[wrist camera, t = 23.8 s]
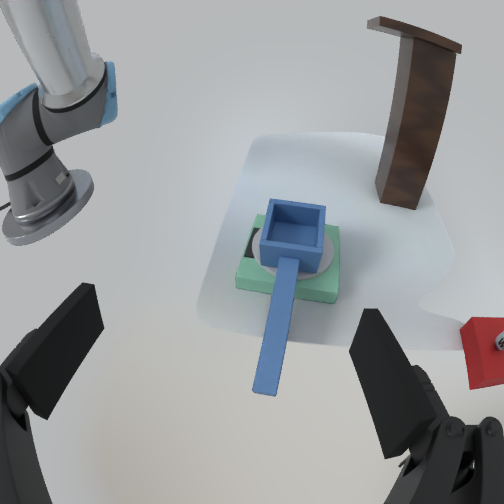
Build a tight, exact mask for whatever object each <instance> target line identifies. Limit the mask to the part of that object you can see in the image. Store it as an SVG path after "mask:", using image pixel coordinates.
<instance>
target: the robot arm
mask: <svg viewBox="0 0 504 504" xmlns="http://www.w3.org/2000/svg"><path fill="white" fill-rule="evenodd" d="M0 8H1V10H2V12H3V14H4V16H5V18H6V21H7V23H8V25H9V27H10V28H11V31H12V33H13V35H14V37H15V39H16V41H17V42H18V44H19V46H20V48H21V50H22V52H23V53H24V55H25V57H26V59H27V61H28V63H29V64H30V66H31V68H32V70H33V71H34V73H35V74H36V76H37V78H38V80H39V81H40V86H39V88H38V86H37V84H36V83H33V84H31V85H29V86H27V87H26V88H24V89H22V90H21V91H19V92H18V93H16V94H15V95H13V96H12V97H10V98H9V99H7V100H6V101H5V102H3V103H2V104H1V105H0V167H1V169H2V171H3V174H4V176H5V179H6V181H7V184H8V189H9V197H10V202H9V203H7V204H5V205H3V206H1V207H0V210H2V209H5V208H6V207H8V206H10V205H11V209H12V214H13V216H14V218H15V220H16V221H17V222H18V223H21V224H25V223H30V222H33V221H36V220H38V219H40V218H42V217H44V216H45V215H47V214H49V213H50V212H52V211H53V210H54V209H56V208H57V207H58V206H59V205H61V204H62V203H63V202H64V201H65V200H66V199H67V198H68V196H69V195H70V194H71V192H72V191H73V189H74V185H75V184H74V180H73V178H72V175H71V174H70V172H69V171H68V170H67V169H66V168H65V166H64V165H63V164H62V162H61V161H60V160H59V159H58V157H57V156H56V154H55V152H54V149H53V146H52V144H55V143H57V142H59V141H62V140H64V139H67V138H69V137H72V136H75V135H77V134H80V133H83V132H86V131H89V130H92V129H95V128H100V127H101V126H102V125H105V124H108V123H110V122H112V121H113V120H115V119H116V117H117V96H116V78H115V67H114V63H113V62H103V59H102V58H101V57H100V56H99V55H98V54H96V53H93V52H91V51H90V48H89V44H88V41H87V37H86V33H85V29H84V25H83V20H82V16H81V12H80V7H79V2H78V0H0ZM103 330H104V325H103V321H102V317H101V313H100V309H99V305H98V300H97V295H96V291H95V285H94V284H88V283H82V284H81V285H79V286H78V287H77V288H76V289H75V290H74V291H73V292H72V293H71V294H70V295H69V296H68V298H66V299H65V300H64V302H63V303H62V304H61V305H60V306H59V307H58V308H57V309H56V310H55V311H54V312H53V313H52V314H51V315H50V316H49V317H48V318H47V319H46V321H45V322H44V323H43V324H42V325H41V326H40V327H39V328H38V329H34V330H33V331H31V332H29V333H28V334H27V335H26V336H25V337H24V338H23V339H22V340H21V342H20V343H19V344H18V345H17V346H16V348H15V349H14V350H13V351H12V352H11V353H10V354H9V356H8V357H7V358H6V359H5V361H4V362H3V363H2V364H1V366H0V504H52V501H51V498H50V496H49V493H48V490H47V487H46V484H45V481H44V478H43V475H42V472H41V469H40V466H39V461H38V458H37V454H36V450H35V446H34V441H33V436H32V431H31V426H30V420H29V415H28V412H27V411H26V409H27V407H28V405H29V407H30V408H31V409H32V411H33V412H34V413H35V414H36V415H38V416H40V417H42V418H44V419H46V420H48V418H49V416H50V414H51V413H52V411H53V409H54V407H55V406H56V404H57V402H58V400H59V399H60V397H61V395H62V394H63V392H64V390H65V389H66V387H67V385H68V384H69V382H70V380H71V379H72V377H73V375H74V374H75V372H76V371H77V369H78V367H79V366H80V364H81V363H82V361H83V360H84V358H85V357H86V355H87V353H88V352H89V350H90V349H91V347H92V346H93V344H94V343H95V341H96V339H97V338H98V337H99V335H100V334H101V332H102V331H103ZM349 353H350V356H351V358H352V361H353V364H354V366H355V369H356V372H357V375H358V378H359V381H360V383H361V386H362V389H363V392H364V395H365V398H366V401H367V404H368V407H369V410H370V413H371V416H372V419H373V422H374V425H375V428H376V432H377V435H378V438H379V441H380V445H381V448H382V451H383V454H384V458H385V459H388V458H392V457H396V456H400V455H402V454H403V453H404V452H405V451H406V450H407V449H408V448H409V451H410V453H411V454H410V455H409V456H408V457H407V458H406V459H405V460H403V462H401V463H400V465H399V467H401V466H402V465H403V464H404V466H403V468H402V470H401V472H400V474H399V477H398V478H397V480H396V482H395V484H394V486H393V488H392V490H391V492H390V494H389V495H388V497H387V499H386V501H385V502H384V504H504V435H503V428H502V425H501V423H500V422H499V421H498V420H497V419H496V418H494V417H486V418H485V419H483V420H482V422H481V423H480V424H479V425H465V424H464V423H463V421H462V420H460V419H459V418H457V417H453V416H451V417H450V416H449V414H448V413H447V410H446V409H445V406H444V405H443V403H442V401H441V399H440V397H439V395H438V393H437V391H435V388H434V386H433V384H432V383H431V380H430V379H429V377H428V375H427V374H426V372H425V371H424V370H422V368H421V367H419V366H418V365H414V366H411V364H410V362H409V361H408V359H407V357H406V355H405V353H404V352H403V350H402V348H401V346H400V345H399V343H398V341H397V340H396V338H395V336H394V334H393V333H392V331H391V329H390V328H389V326H388V324H387V323H386V321H385V320H384V318H383V316H382V315H381V313H380V311H379V310H378V309H365V308H364V310H363V313H362V316H361V319H360V322H359V325H358V328H357V331H356V334H355V336H354V339H353V342H352V345H351V347H350V350H349ZM474 462H475V463H474ZM473 463H474V469H473Z"/></svg>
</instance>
